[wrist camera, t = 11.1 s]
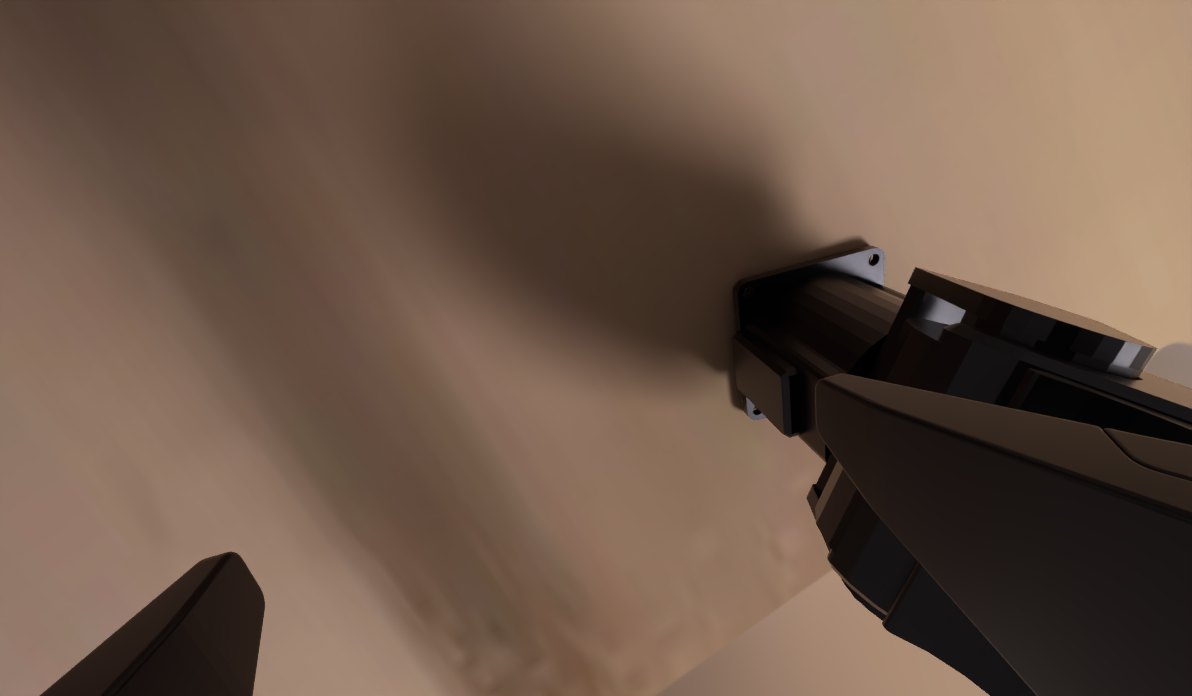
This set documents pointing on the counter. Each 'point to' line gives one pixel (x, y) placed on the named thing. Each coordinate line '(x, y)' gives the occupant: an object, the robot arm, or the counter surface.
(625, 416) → the counter surface
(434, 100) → the counter surface
